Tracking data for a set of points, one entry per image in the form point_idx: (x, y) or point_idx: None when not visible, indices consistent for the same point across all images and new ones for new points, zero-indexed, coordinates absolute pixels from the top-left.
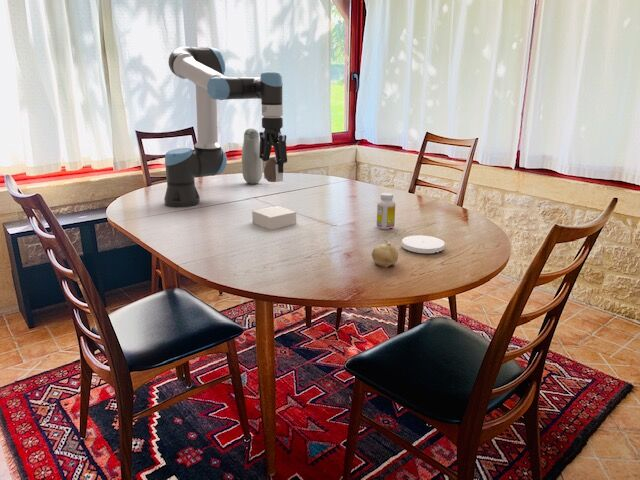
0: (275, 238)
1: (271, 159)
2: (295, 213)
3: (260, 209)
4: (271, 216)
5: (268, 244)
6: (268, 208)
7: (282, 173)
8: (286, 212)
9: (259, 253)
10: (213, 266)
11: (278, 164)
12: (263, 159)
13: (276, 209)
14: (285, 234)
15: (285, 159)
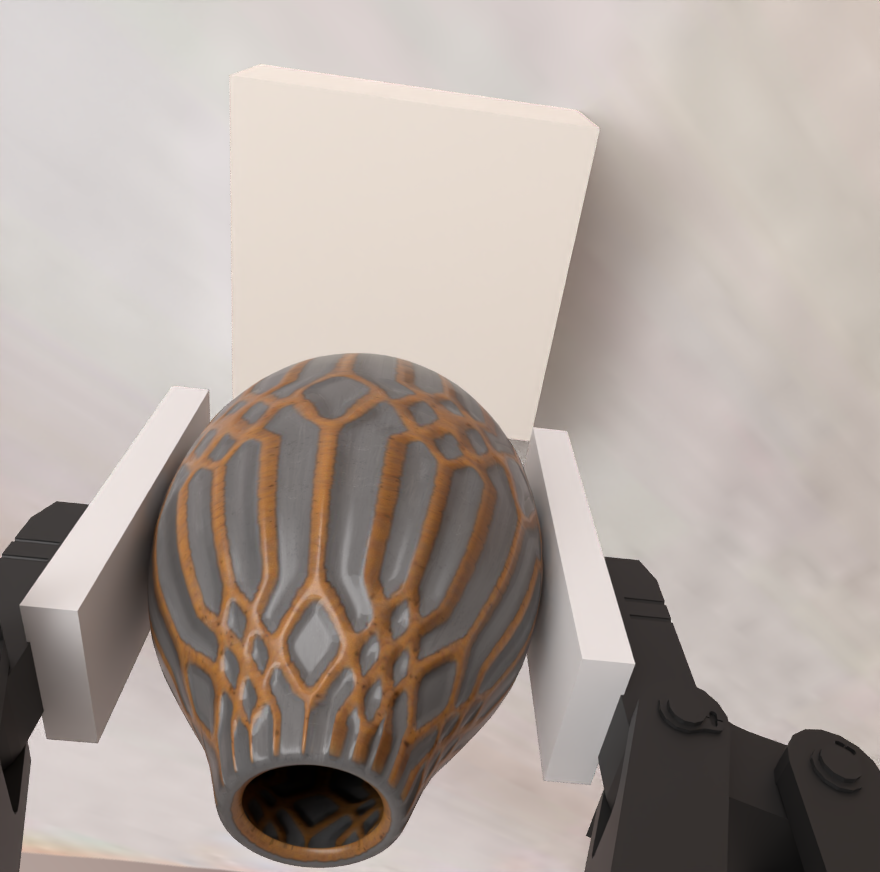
0: (690, 497)
1: (360, 840)
2: (594, 136)
3: (240, 323)
4: (515, 416)
5: (727, 589)
6: (261, 239)
7: (587, 517)
8: (526, 220)
9: (775, 691)
10: None
11: (609, 754)
12: (7, 769)
13: (356, 209)
14: (695, 397)
15: (854, 835)
